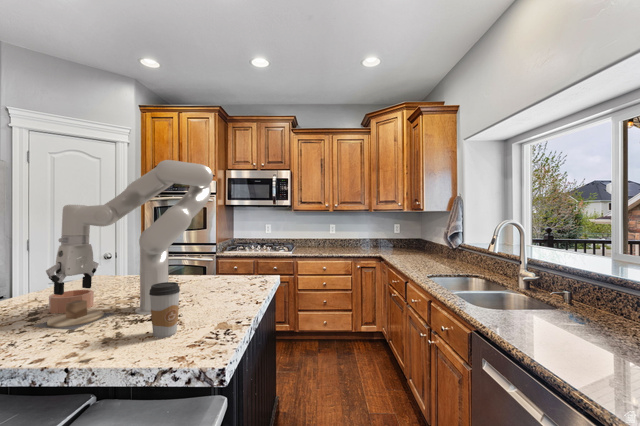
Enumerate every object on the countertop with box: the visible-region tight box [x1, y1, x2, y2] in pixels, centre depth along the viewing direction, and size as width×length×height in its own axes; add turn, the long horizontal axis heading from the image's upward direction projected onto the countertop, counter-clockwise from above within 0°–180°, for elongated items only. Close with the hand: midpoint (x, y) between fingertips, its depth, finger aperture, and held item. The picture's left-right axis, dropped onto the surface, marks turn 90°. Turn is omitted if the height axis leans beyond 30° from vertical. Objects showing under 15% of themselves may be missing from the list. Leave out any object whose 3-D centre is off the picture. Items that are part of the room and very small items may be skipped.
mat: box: [31, 312, 117, 331], centre depth 105 cm, size 16×16×1 cm
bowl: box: [48, 288, 95, 314], centre depth 118 cm, size 13×13×6 cm
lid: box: [46, 300, 104, 329], centre depth 105 cm, size 15×15×6 cm
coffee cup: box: [149, 281, 181, 339], centre depth 93 cm, size 8×8×15 cm
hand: (73, 291), depth 104 cm, fingers open, 9 cm apart
